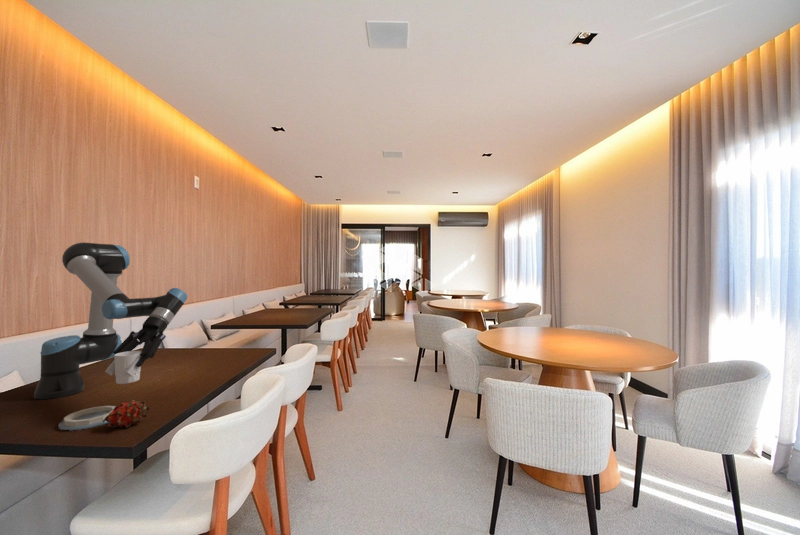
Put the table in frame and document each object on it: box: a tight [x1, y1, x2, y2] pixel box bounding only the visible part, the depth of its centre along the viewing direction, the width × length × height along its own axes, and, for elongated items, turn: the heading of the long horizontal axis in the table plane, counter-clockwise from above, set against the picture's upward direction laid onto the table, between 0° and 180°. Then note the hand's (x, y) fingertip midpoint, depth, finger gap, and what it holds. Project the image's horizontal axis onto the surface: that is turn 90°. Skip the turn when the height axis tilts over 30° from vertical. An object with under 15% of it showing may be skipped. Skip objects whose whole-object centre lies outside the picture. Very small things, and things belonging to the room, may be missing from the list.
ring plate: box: [58, 405, 117, 432], centre depth 117 cm, size 16×16×2 cm
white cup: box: [113, 350, 142, 385], centre depth 123 cm, size 8×8×10 cm
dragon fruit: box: [103, 399, 150, 428], centre depth 113 cm, size 8×8×12 cm
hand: (118, 373), depth 120 cm, fingers closed on white cup, 8 cm apart
